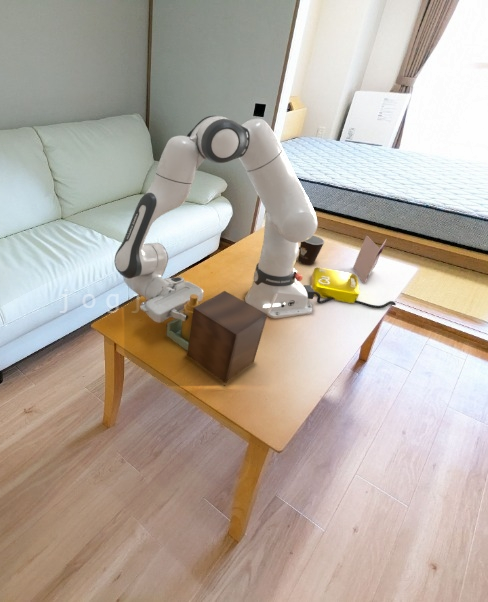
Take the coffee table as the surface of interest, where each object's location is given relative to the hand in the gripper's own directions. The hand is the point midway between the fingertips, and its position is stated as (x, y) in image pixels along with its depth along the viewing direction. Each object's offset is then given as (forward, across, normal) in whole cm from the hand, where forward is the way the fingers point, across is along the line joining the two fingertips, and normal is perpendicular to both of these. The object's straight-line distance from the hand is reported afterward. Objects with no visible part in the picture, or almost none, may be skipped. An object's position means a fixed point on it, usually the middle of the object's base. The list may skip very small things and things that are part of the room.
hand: (194, 314), depth 109 cm
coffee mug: (-5, +76, +10) cm, 77 cm away
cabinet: (+12, 0, +10) cm, 15 cm away
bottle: (-1, 0, +9) cm, 9 cm away
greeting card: (+16, +82, +10) cm, 84 cm away
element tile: (+14, +63, +10) cm, 65 cm away
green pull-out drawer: (0, 0, +10) cm, 10 cm away
